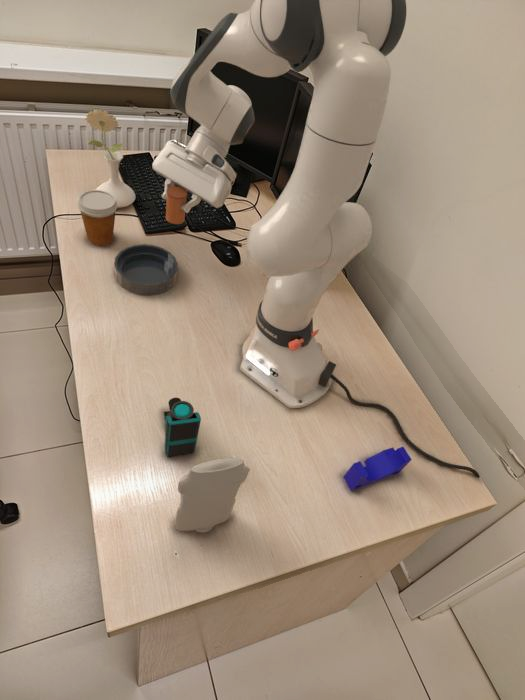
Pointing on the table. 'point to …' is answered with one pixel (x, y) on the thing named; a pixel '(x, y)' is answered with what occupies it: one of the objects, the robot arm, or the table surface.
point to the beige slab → (209, 493)
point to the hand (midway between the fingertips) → (174, 205)
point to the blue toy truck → (377, 467)
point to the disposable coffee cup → (98, 215)
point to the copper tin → (175, 204)
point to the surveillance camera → (181, 428)
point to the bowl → (145, 269)
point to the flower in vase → (111, 159)
